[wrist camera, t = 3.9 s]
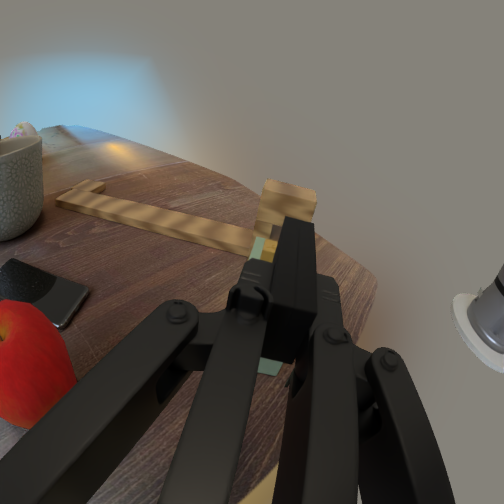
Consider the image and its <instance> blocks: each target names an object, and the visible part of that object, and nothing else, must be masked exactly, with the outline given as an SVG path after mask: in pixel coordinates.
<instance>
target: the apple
mask: <svg viewBox="0 0 504 504" xmlns="http://www.w3.org/2000/svg"><path fill="white" fill-rule="evenodd" d="M76 383H77V380H76V377H75V374H74V370H73V367H72V363H71V361H70V358H69V355H68V352H67V349H66V345H65V342H64V340H63V339H62V337H61V335H60V334H59V332H58V330H57V329H56V327H55V325H54V324H53V323H52V322H51V321H50V320H49V319H48V318H47V317H46V316H45V315H44V314H43V313H42V312H41V311H40V310H38V309H37V308H36V307H34V306H33V305H32V304H30V303H26V302H19V301H13V300H7V299H5V300H3V301H0V417H1V418H3V419H5V420H6V421H8V422H9V423H11V424H13V425H16V426H19V427H23V428H26V429H31V428H32V427H33V426H34V425H35V424H36V423H37V422H38V421H39V420H40V419H41V418H42V417H43V416H44V415H45V414H46V413H47V412H48V411H49V410H50V409H51V408H52V407H53V406H54V405H55V404H56V403H57V402H58V401H59V400H60V399H61V398H62V397H63V396H64V395H65V394H66V393H67V392H68V391H69V390H70V389H71V388H72V387H73V386H74V385H75V384H76Z"/></svg>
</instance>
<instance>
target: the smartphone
mask: <svg viewBox="0 0 504 504" xmlns="http://www.w3.org/2000/svg"><path fill="white" fill-rule="evenodd" d="M88 294H89V288H88V287H87V286H84V285H81V284H78V283H75V282H73V281H70V280H67V279H64V278H62V277H59V276H56V275H54V274H51V273H49V272H46V271H43V270H41V269H38V268H36V267H33V266H31V265H29V264H26V263H24V262H21V261H19V260H17V259H14V258H11V259H9V260H8V261H7V262H6V263H5V264H4V265H3V266H2V267H1V268H0V299H1V300H5V299H7V300H13V301H19V302H26V303H30V304H32V305H33V306H34V307H36V308H37V309H38V310H40V311H41V312H42V313H43V314H44V315H45V316H46V317H47V318H48V319H49V320H50V321H51V322H52V323H53V324H54V325H55V327H56V328H57V329H60V330H61V329H64V328H65V327H66V325H67V324H68V322H69V321H70V320H71V318H72V317H73V315H74V314H75V312H76V311H77V310H78V308H79V307H80V305H81V304H82V303H83V301H84V300H85V299H86V297H87V296H88Z"/></svg>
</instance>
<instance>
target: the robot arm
mask: <svg viewBox="0 0 504 504" xmlns="http://www.w3.org/2000/svg"><path fill="white" fill-rule="evenodd" d="M339 295H340V293H339V286H338V284H337V283H336V281H335V280H334V278H333V277H329V276H325V275H321V274H317V272H316V250H315V232H314V223H310V222H307V221H303V220H299V219H295V218H292V217H288V216H285V218H284V222H283V225H282V229H281V233H280V236H279V240H278V243H277V247H276V251H275V254H274V258H273V261H272V263H271V262H267V261H264V260H260V259H256V258H251V259H249V260H248V261H247V262H245V264H244V267H243V269H242V272H241V275H240V278H239V280H238V283H237V284H236V285H234V286H233V287H232V288H231V289H230V291H229V295H228V300H227V306H226V308H225V309H223V310H221V311H219V312H215V313H199V312H198V310H197V309H196V307H195V306H194V305H192V304H191V303H190V302H187V301H184V300H176V299H173V300H169V301H166V302H164V303H162V304H161V305H159V306H158V307H157V308H156V309H155V310H154V311H153V312H152V313H151V314H150V315H148V316H147V317H146V318H145V319H144V320H143V321H142V322H141V323H140V324H139V325H138V326H137V327H135V328H134V329H133V330H132V331H131V332H130V333H129V334H128V335H127V336H126V337H125V338H124V339H123V340H122V341H120V342H119V343H118V344H117V345H116V346H115V347H114V348H113V349H112V350H111V351H110V352H109V353H108V354H107V355H106V356H105V357H103V358H102V359H101V360H100V361H99V362H98V363H97V364H96V365H95V366H94V367H93V368H92V369H91V370H90V371H89V372H88V373H87V374H86V375H85V376H84V377H83V378H82V379H80V380H79V381H78V382H77V383H76V384H75V385H74V386H73V387H72V388H71V389H70V390H69V391H68V392H67V393H66V394H65V395H64V396H63V397H62V398H61V399H60V400H59V401H58V402H57V403H56V404H55V405H54V406H53V407H52V408H51V409H50V410H49V411H48V412H47V413H46V414H45V415H44V416H43V417H42V418H41V419H40V420H39V421H38V422H37V423H36V424H35V425H34V426H33V427H32V428H31V429H30V430H29V431H28V432H27V433H26V434H25V435H24V436H23V437H22V438H21V439H20V440H19V441H18V442H17V443H16V444H15V445H14V446H13V447H12V448H11V450H10V451H9V452H8V453H7V454H6V455H5V456H4V457H3V458H2V459H1V460H0V504H86V503H87V502H88V501H89V499H90V498H91V497H92V496H93V495H94V494H95V492H96V491H97V490H98V489H99V488H100V487H101V485H102V484H103V483H104V482H105V481H106V479H107V478H108V477H109V476H110V475H111V474H112V472H113V471H114V470H115V469H116V468H117V466H118V465H119V464H120V463H121V461H122V460H123V459H124V458H125V457H126V455H127V454H128V453H129V452H130V451H131V449H132V448H133V447H134V446H135V444H136V443H137V442H138V441H139V439H140V438H141V437H142V436H143V434H144V433H145V432H146V431H147V430H148V428H149V427H150V426H151V425H152V423H153V422H154V421H155V420H156V418H157V417H158V416H159V414H160V413H161V412H162V411H163V409H164V408H165V407H166V406H167V404H168V403H169V402H170V400H171V399H172V398H173V397H174V395H175V394H176V393H177V392H178V390H179V389H180V388H181V386H182V385H183V384H184V383H185V381H186V380H187V379H188V377H189V376H190V375H191V373H192V372H193V371H204V372H203V375H202V378H201V380H200V383H199V386H198V389H197V392H196V394H195V397H194V400H193V403H192V406H191V409H190V411H189V414H188V417H187V420H186V423H185V425H184V428H183V431H182V434H181V437H180V440H179V442H178V445H177V448H176V451H175V454H174V457H173V459H172V462H171V465H170V468H169V471H168V474H167V476H166V479H165V482H164V485H163V488H162V491H161V494H160V497H159V499H158V502H157V504H228V502H229V498H230V494H231V490H232V486H233V481H234V477H235V473H236V469H237V465H238V460H239V456H240V451H241V447H242V443H243V438H244V434H245V429H246V424H247V420H248V415H249V411H250V406H251V401H252V396H253V391H254V387H255V382H256V377H257V372H258V367H259V362H260V357H261V358H265V359H269V360H274V361H278V362H283V363H287V364H292V363H293V361H294V359H295V357H296V362H295V368H294V369H293V371H292V373H291V375H290V376H289V378H288V380H287V382H286V384H285V387H288V385H289V393H288V401H287V409H286V417H285V424H284V432H283V439H282V446H281V452H280V459H279V465H278V471H277V477H276V483H275V488H274V494H273V499H272V504H357V496H358V495H357V494H358V485H359V490H360V495H361V500H362V504H455V500H454V496H453V492H452V489H451V485H450V482H449V478H448V475H447V471H446V468H445V465H444V462H443V459H442V456H441V453H440V450H439V447H438V444H437V441H436V438H435V436H434V433H433V430H432V428H431V425H430V422H429V420H428V417H427V415H426V412H425V409H424V407H423V405H422V402H421V400H420V397H419V395H418V392H417V390H416V388H415V385H414V383H413V381H412V379H411V376H410V374H409V372H408V370H407V367H406V365H405V363H404V361H403V359H402V358H401V356H400V355H399V354H398V353H397V352H395V351H394V350H392V349H389V348H385V347H381V348H377V349H376V350H375V351H374V352H373V353H370V352H368V351H366V350H364V349H361V348H359V347H358V346H356V345H354V344H353V343H352V339H351V336H350V334H349V333H348V331H347V330H346V329H345V328H343V319H342V310H341V303H340V302H341V301H340V296H339ZM467 316H468V319H469V322H470V324H471V326H472V328H473V329H474V331H475V332H476V334H477V335H478V336H479V337H480V339H481V340H482V341H483V342H484V343H485V344H486V345H487V346H488V347H490V348H491V349H492V350H494V351H495V352H497V353H500V354H503V355H504V264H503V266H502V268H501V270H500V271H499V273H498V275H497V277H496V279H495V280H494V282H493V283H492V284H491V285H490V286H489V287H487V288H486V289H485V290H484V291H483V292H482V289H481V288H480V290H479V291H478V296H477V297H476V298H474V299H473V300H472V302H471V303H470V305H469V306H468V308H467Z"/></svg>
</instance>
